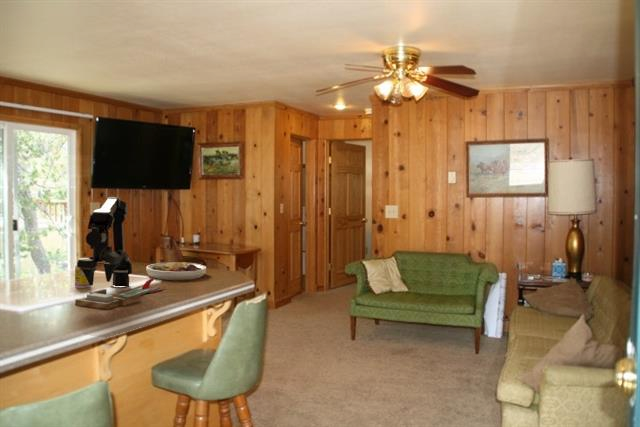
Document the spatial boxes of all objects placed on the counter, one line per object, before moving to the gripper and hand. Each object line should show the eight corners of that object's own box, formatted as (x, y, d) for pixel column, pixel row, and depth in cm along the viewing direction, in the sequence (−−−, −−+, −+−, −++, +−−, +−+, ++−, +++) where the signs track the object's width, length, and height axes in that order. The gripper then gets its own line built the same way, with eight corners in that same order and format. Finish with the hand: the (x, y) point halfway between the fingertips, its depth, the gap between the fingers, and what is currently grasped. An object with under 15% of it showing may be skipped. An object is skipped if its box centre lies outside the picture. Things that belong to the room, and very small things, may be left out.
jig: (72, 304, 200) (72, 296, 200) (103, 296, 216) (103, 288, 216) (110, 309, 194) (110, 301, 194) (139, 301, 211) (139, 293, 210)
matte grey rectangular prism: (105, 307, 198) (106, 297, 198) (86, 305, 201) (86, 294, 201) (112, 305, 202) (113, 295, 202) (93, 302, 205) (94, 292, 205)
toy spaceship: (135, 306, 210) (135, 294, 209) (109, 304, 212) (109, 291, 211) (166, 289, 237) (166, 278, 236) (142, 287, 238) (142, 276, 238)
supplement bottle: (72, 286, 232) (73, 257, 232) (88, 285, 237) (88, 257, 236) (77, 289, 227) (77, 260, 226) (92, 287, 232) (93, 259, 231)
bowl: (133, 275, 266) (134, 260, 266) (180, 269, 291) (180, 255, 290) (172, 284, 249) (172, 268, 249) (217, 277, 274) (218, 262, 273)
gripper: (100, 247, 189) (99, 289, 189) (134, 243, 206) (133, 281, 207) (76, 245, 192) (75, 286, 193) (111, 241, 210) (110, 279, 211)
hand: (100, 283), depth 201 cm, fingers open, 9 cm apart
